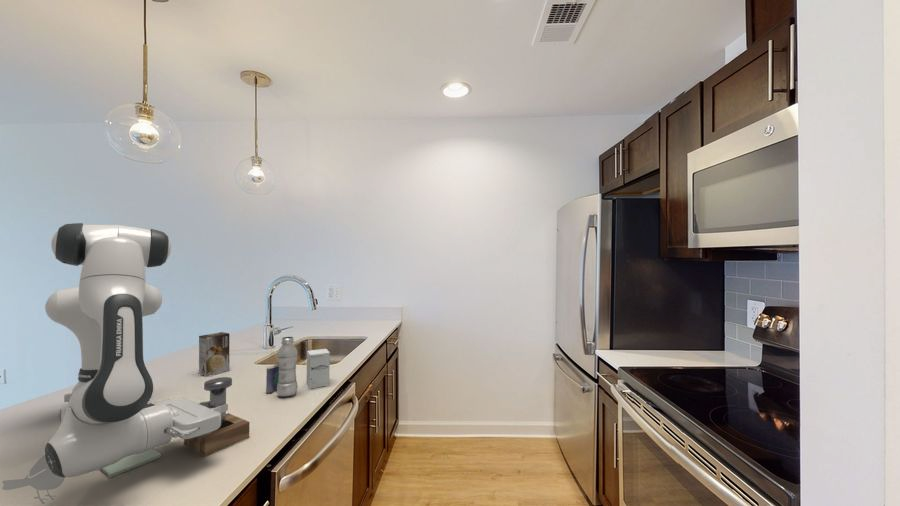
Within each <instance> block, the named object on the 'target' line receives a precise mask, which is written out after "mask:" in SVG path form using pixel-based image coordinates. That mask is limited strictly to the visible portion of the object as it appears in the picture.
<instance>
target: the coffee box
mask: <svg viewBox="0 0 900 506" xmlns="http://www.w3.org/2000/svg"><path fill="white" fill-rule="evenodd" d="M225 371H226V372H229V371H230V333H229V332H223V331H221V332H215V333H209V334H202V335H198V375H199V374H201V375H200V376H202V375H204V376H203V377H205V376H208V377H210V375H211V376H214V375H213V374H215V375H218V373H219V374H222V373H226V372H225ZM221 372H222V373H221Z"/></svg>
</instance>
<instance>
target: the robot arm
mask: <svg viewBox="0 0 900 506" xmlns="http://www.w3.org/2000/svg"><path fill="white" fill-rule="evenodd" d="M50 246H51V251H52V252H53V254H54V256H55V259H56V260H58V261H59V262H60V263H62V264H65V265H71V266H76V267H79V266H80V265H81V266H82V268H81V271H80V277H79V285H78V286H76V287H69V288H64V289H59V290H56V291H54V292H53V293H52V294H51V295H50V296H49V297H48V298H47V300H46V302H45V306H44V308H45V309H44V310H45V313H46V315H47V317H48V318H50V320H51V321H53V322H54V323H57V324H58V325H59V324H60V325H61V326H63V327H65V328H67V329H68V330H70V331H71V332H72V333H73V334H74V335H75V336H76V338H77V340H78V342H79V346H80V356H81V365H80V366H81V367H80V369H79V370H78V374H77V376H78V377H77V380H78V382H77V383H76V384H75V386H74V387H73V389H72V390H71V393H66V394H64V395H63V398H64V399H63V401H64V403H66V404H63V405H62V406H61V407H60V425H59V426H58V428H57V429H56V432H55V433H54V434H53V435H52V437H51V438H50V439H49V440H48V441H47V442H46V444H45V447H44V453H45V454H44V458H45V460H46V464H47V466H48V468H49V470H50V472H52V474H53V475H55V476H57V477H59V478H65V479H69V478H73V477H77V476H81V475H82V476H83V475H84V474H85V475H86V474H89V473H91V472H95V471H97V470H101V469H100V468H103V467H106V466H109V465H111V464H114V463H116V462H118V461H120V460H121V459H123V458H125V457H127V456H130V455H136V454H140V453H143V452H146V451H149V450H151V449H154V450H155V449H156V448H159V447H162V446H164V445H167V444H169V443H170V442H171V440H172V438H175V439H176V438H179V439H182V440H184V439H190V438H194V437H197V436H200V435H204V434H207V433H210V432H212V431H215V430H217V429H218V428H219V427H220V426H221V413H223V412H226V413H227V411H229V405H228V403H226V404H225V403H222V404H219V405H218V407H216V408H211V409H210V400H205V401H197V402H195V401H193V400H191V399H188V398H186V397H174V398H170V399H166V400H162V401H157V402H154V403H153V402H150V400H151V398H152V396H153V392H154V383H153V379H152V376H151V375H150V373H149V371H148V369H147V367H146V365H145V364H146V363H145V361H144V339H143V338H144V333H143V332H144V328H143V325H144V324H143V317H146V316H150V315H155V313H157V312H158V311H159V309H160V308H161V306H162V303H163V295H162V293H161V292H160V290H159V289H158V288H157V287H155V286H154V285H150V284H148V283H146V267H147V268H155V267H156V268H157V267H161V266H162V265H164V264H165V263H166V262H167V260H168V258H169V257H170V255H171V253H172V245H171V241H170V239H169V236H168V234H167V233H166V232H164V231H161V230H157V229H154V228H150V229H147V228H141V227H137V226H131V225H130V226H129V225H122V224H84V223H82V222H77V223H76V222H75V223H74V222H73V223H65V224H63V225H62V226H60V227H58V229H57V231H55V234H54V235H52V239H51V245H50Z"/></svg>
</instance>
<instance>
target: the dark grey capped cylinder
mask: <svg viewBox="0 0 900 506" xmlns="http://www.w3.org/2000/svg"><path fill="white" fill-rule="evenodd" d="M203 385H204V386H203V390H204V391H206V392H207V391H208V392H209V401H210V409H211V408H216V407H218V405H219V404H222V403H225V404H227V389H228V388H230V387H231V386H232V385H233V378H232V377H228V376H225V377H224V376H223V377H222V376H221V377H216V378H211V379H208V380H206V381H205V382H204V383H203ZM226 414H227V411H226V412H223V413H221V426H220V427H219V428H218V429H217V430H219V429H222V428H224V427H226ZM215 431H216V430H215ZM212 432H214V431H212Z"/></svg>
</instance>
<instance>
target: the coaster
mask: <svg viewBox="0 0 900 506" xmlns="http://www.w3.org/2000/svg"><path fill="white" fill-rule="evenodd" d="M160 458H162V453H160V452H159V451H157V450H155V448H154V449H151V450H149V451H146V452H143V453H140V454H136V455H130V456H127V457H125V458H123V459H121V460H120V461H118V462H116V463H114V464H111V465H109V466H106V467H103V468H100V469H99V470H100V471H102V473H104V474H105V473H106V474H105V475H107V476H108V477H109V478H112V476H113V477H115V476H118V475H120V474H122V473H125V472H127V471H130V470H133V469H135V468H138V467H140V466H143V465H145V464H147V463H151V462H152V461H155V460H158V459H160Z"/></svg>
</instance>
